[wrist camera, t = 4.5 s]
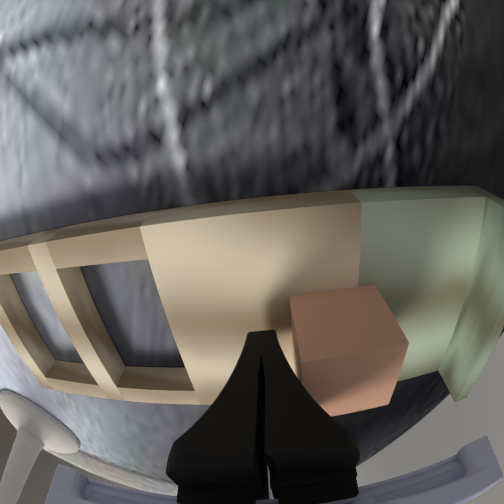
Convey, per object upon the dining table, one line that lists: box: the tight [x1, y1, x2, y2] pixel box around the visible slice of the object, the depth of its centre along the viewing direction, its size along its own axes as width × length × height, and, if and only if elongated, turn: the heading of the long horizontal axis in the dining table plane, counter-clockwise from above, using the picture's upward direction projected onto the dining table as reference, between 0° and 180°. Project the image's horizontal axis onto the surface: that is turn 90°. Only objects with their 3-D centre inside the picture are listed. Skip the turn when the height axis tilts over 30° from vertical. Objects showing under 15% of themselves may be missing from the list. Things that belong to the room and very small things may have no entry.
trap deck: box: [0, 186, 504, 404], centre depth 14 cm, size 12×31×5 cm, turn 97°
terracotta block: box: [290, 285, 409, 416], centre depth 12 cm, size 4×4×4 cm
